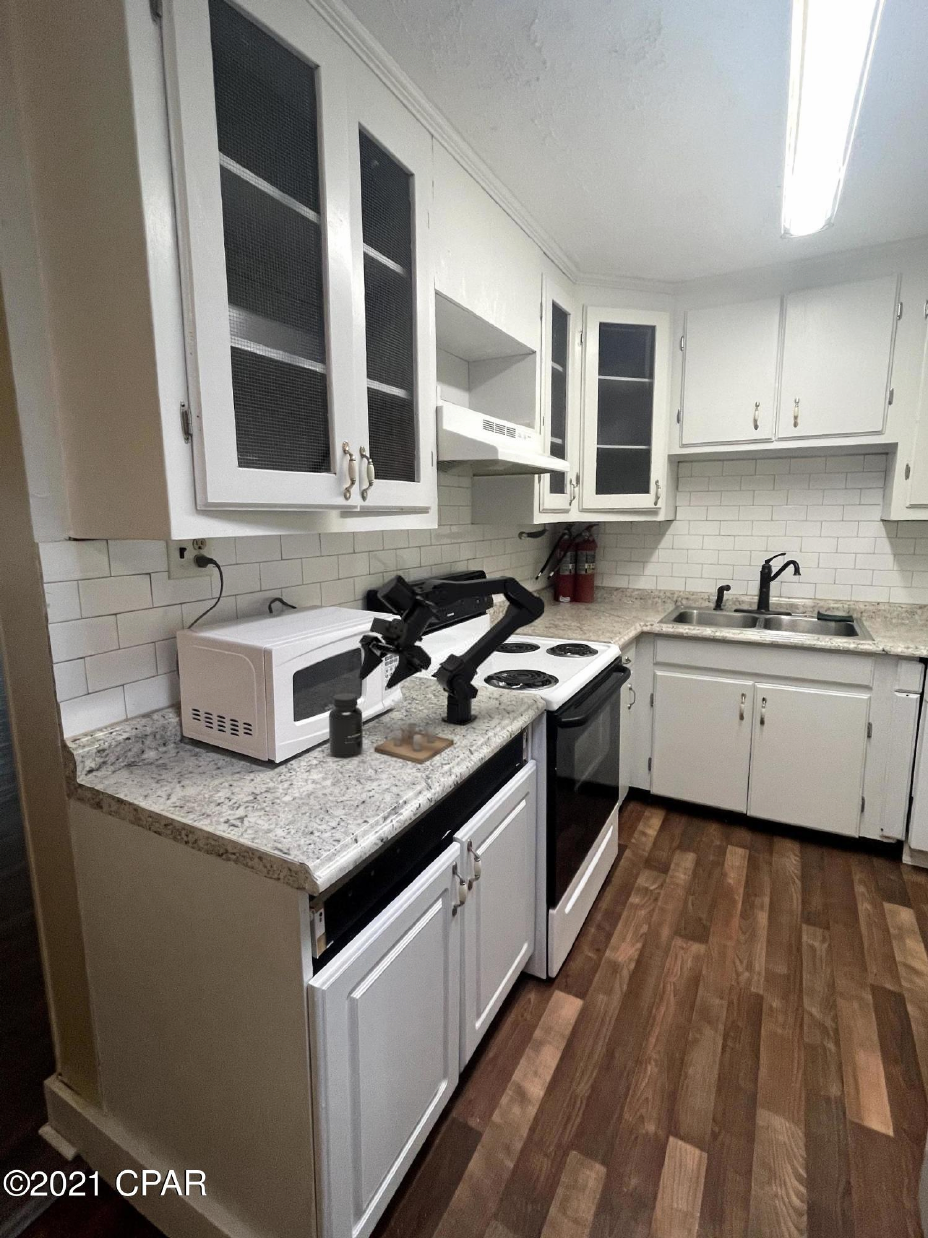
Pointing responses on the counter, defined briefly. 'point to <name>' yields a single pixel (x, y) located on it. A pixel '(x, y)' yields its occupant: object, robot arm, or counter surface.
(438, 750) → the peg stand
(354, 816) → the counter surface
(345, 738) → the supplement bottle
